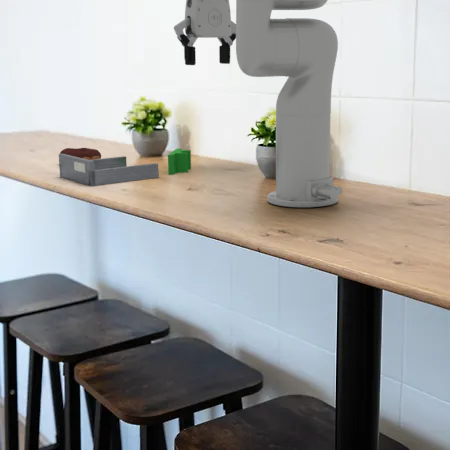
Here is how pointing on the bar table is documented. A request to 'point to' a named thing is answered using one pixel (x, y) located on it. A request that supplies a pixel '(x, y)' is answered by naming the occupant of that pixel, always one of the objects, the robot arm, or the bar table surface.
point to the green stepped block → (179, 161)
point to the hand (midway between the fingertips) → (207, 64)
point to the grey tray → (104, 170)
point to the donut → (82, 153)
